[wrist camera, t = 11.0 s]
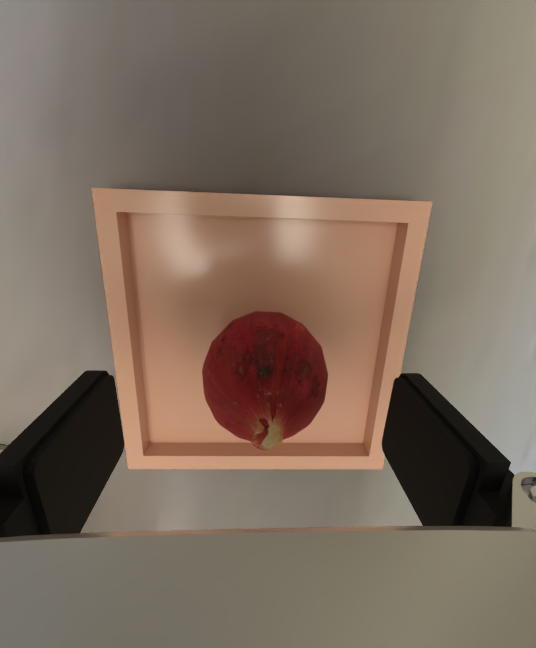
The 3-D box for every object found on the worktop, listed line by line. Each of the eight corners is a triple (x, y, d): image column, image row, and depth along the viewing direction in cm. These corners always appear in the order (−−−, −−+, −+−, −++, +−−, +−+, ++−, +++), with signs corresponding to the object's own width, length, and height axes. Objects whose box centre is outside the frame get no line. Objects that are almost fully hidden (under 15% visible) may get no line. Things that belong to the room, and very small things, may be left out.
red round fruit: (211, 291, 17) (180, 362, 9) (316, 294, 17) (366, 364, 10) (213, 384, 19) (189, 502, 11) (306, 385, 19) (342, 499, 12)
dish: (110, 191, 16) (91, 187, 14) (412, 204, 17) (432, 201, 15) (139, 446, 21) (128, 469, 19) (371, 447, 22) (382, 469, 20)
